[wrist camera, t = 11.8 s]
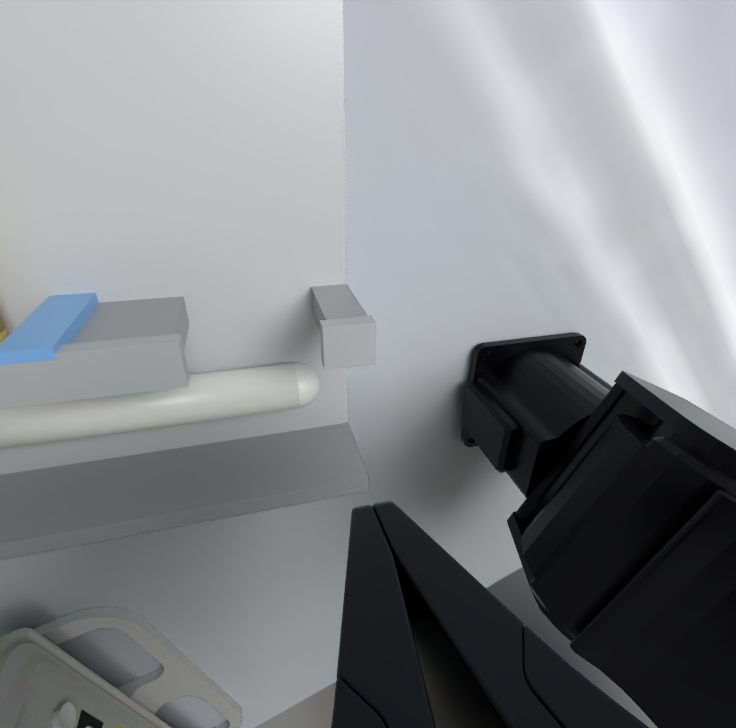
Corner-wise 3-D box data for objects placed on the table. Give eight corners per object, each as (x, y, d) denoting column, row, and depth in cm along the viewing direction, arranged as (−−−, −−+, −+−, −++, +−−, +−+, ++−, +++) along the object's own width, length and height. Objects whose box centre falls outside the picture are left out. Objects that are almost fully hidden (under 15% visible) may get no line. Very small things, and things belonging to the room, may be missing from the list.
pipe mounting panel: (338, -35, 14) (385, -102, 10) (345, 428, 23) (371, 501, 19) (-507, -115, 10) (-1119, -306, 5) (-90, 494, 19) (-188, 609, 14)
